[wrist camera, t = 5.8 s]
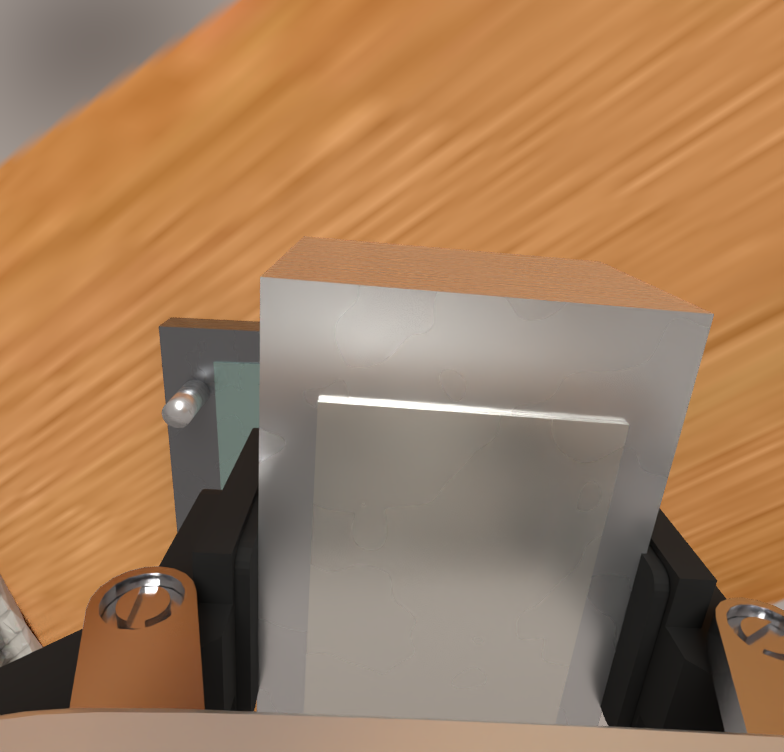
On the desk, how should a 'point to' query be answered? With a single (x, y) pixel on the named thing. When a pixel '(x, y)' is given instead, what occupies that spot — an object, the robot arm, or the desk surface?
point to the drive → (458, 476)
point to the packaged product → (13, 630)
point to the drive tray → (208, 400)
